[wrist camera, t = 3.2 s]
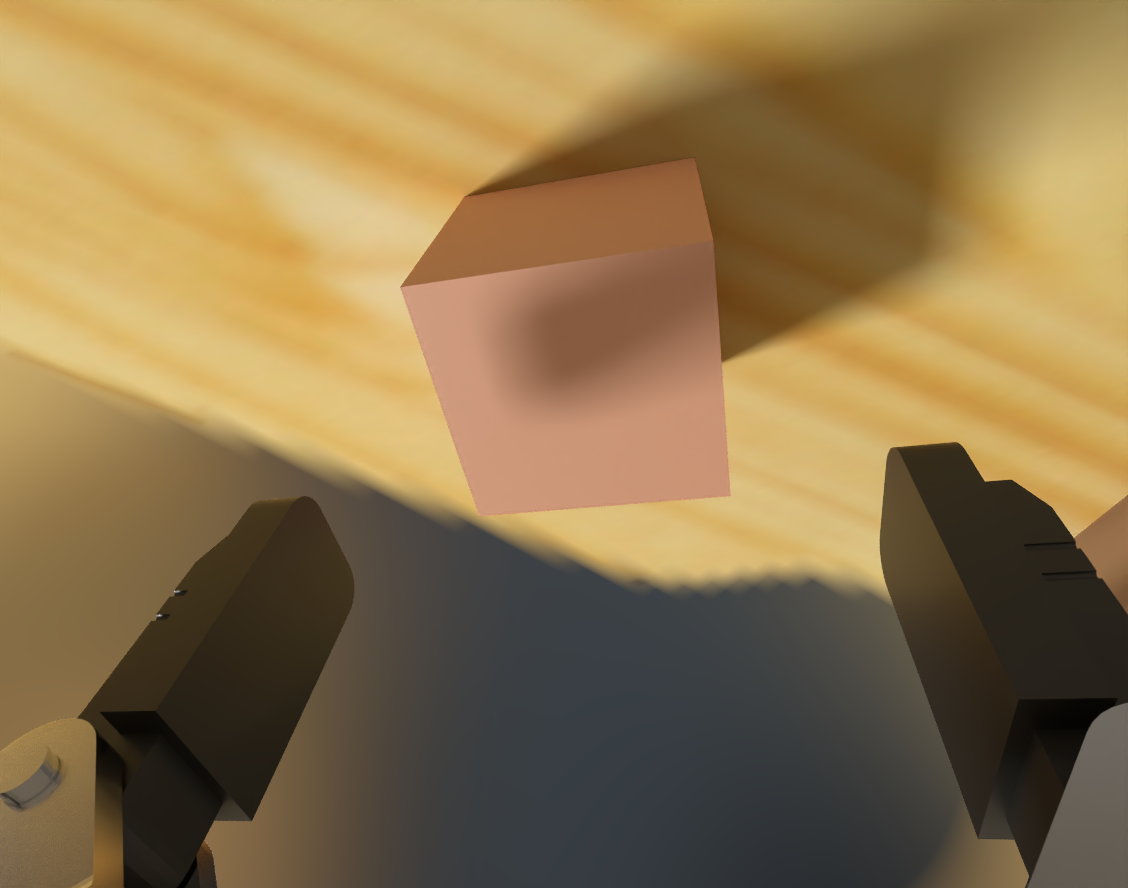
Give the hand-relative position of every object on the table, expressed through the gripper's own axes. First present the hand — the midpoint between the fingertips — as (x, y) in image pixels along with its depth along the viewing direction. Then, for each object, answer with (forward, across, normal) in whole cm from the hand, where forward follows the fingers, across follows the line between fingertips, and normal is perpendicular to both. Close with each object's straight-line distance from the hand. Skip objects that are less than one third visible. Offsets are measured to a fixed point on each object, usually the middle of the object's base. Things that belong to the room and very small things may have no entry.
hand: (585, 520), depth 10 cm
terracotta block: (+8, 0, 0) cm, 8 cm away
